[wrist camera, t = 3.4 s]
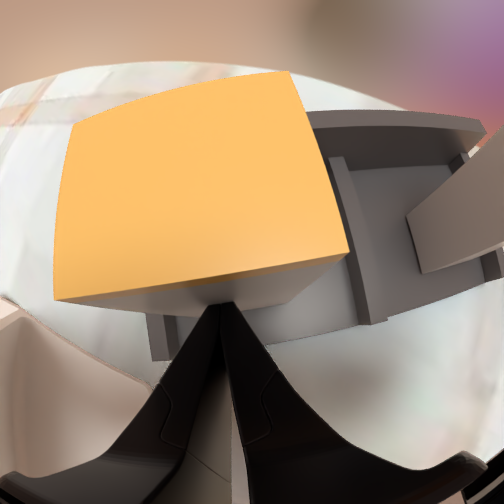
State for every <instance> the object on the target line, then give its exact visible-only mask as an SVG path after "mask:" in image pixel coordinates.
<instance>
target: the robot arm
mask: <svg viewBox="0 0 504 504" xmlns="http://www.w3.org/2000/svg"><path fill="white" fill-rule="evenodd" d="M232 401H233V406H234V411H235V416H236V420H237V425H238V430H239V434H240V439H241V443H242V447H243V452H244V456H245V462H246V468H247V477H248V488H249V499H250V504H504V448H503V449H502V450H501V451H500V452H499V453H497V454H496V455H495V456H494V457H492V458H491V459H490V460H489V461H487V462H486V463H484V462H483V461H482V460H481V459H479V458H477V457H475V456H474V455H472V454H470V453H468V452H466V451H461V452H459V453H457V454H455V455H454V456H452V457H450V458H449V459H447V460H445V461H443V462H442V463H440V464H438V465H436V466H434V467H432V468H429V469H424V470H412V469H408V468H404V467H402V466H399V465H397V464H395V463H392V462H390V461H387V460H385V459H383V458H380V457H378V456H376V455H374V454H372V453H369V452H367V451H365V450H363V449H361V448H359V447H357V446H355V445H353V444H351V443H350V442H348V441H347V440H345V439H344V438H343V437H342V436H340V435H339V434H338V433H337V432H336V431H335V430H334V429H332V428H331V427H330V426H329V425H328V424H327V423H326V422H325V421H324V420H323V419H322V418H321V417H320V416H319V415H318V414H317V413H316V412H315V411H314V410H313V409H312V408H311V407H310V406H309V405H308V404H307V403H306V402H305V401H304V400H303V399H302V398H301V397H300V395H299V394H298V393H297V392H296V391H295V390H294V388H293V387H292V386H291V384H290V383H289V382H288V381H287V379H286V378H285V376H284V375H283V374H282V372H281V371H280V370H279V368H278V367H277V365H276V364H275V362H274V361H273V359H272V358H271V356H270V355H269V353H268V352H267V350H266V349H265V347H264V346H263V344H262V343H261V341H260V340H259V338H258V337H257V335H256V334H255V332H254V331H253V329H252V328H251V326H250V325H249V323H248V322H247V320H246V319H245V317H244V316H243V314H242V313H241V311H240V310H239V308H238V306H237V305H236V303H235V302H234V301H232V302H225V303H222V304H212V305H208V306H207V307H206V309H205V310H204V312H203V313H202V315H201V316H200V318H199V320H198V321H197V323H196V324H195V326H194V327H193V329H192V331H191V332H190V334H189V335H188V337H187V338H186V340H185V341H184V343H183V345H182V346H181V348H180V349H179V351H178V352H177V354H176V356H175V357H174V359H173V360H172V362H171V363H170V365H169V367H168V368H167V370H166V371H165V373H164V375H163V376H162V378H161V379H160V381H159V383H158V384H157V385H156V387H155V389H154V390H153V392H152V393H151V395H150V396H149V398H148V399H147V401H146V402H145V404H144V405H143V406H142V408H141V409H140V410H139V412H138V413H137V414H136V416H135V417H134V418H133V419H132V421H131V422H130V423H129V424H128V426H127V427H126V428H125V429H124V431H123V432H122V433H121V434H120V435H119V437H118V438H117V439H116V440H115V442H114V443H113V444H112V445H111V446H110V447H109V448H108V449H107V450H106V451H105V452H104V453H103V454H101V455H100V456H98V457H97V458H95V459H93V460H90V461H88V462H85V463H82V464H80V465H77V466H74V467H72V468H69V469H66V470H63V471H60V472H57V473H54V474H51V475H48V476H44V477H38V478H32V477H27V476H25V475H23V474H21V473H19V472H17V471H11V472H9V473H7V474H5V475H3V476H1V477H0V504H232V497H231V408H232Z"/></svg>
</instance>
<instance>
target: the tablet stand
mask: <svg viewBox="0 0 504 504" xmlns="http://www.w3.org/2000/svg"><path fill="white" fill-rule="evenodd" d="M152 392H153V390H152V388H151V387H150V385H149V384H148V383H146V382H144V381H142V380H140V379H138V378H136V377H134V376H131V375H129V374H127V373H125V372H123V371H121V370H119V369H117V368H115V367H113V366H112V365H110V364H108V363H106V362H104V361H102V360H100V359H99V358H97V357H95V356H93V355H91V354H90V353H88V352H86V351H85V350H83V349H81V348H80V347H78V346H76V345H75V344H73V343H71V342H70V341H68V340H67V339H65V338H63V337H62V336H60V335H59V334H57V333H56V332H54V331H53V330H51V329H50V328H48V327H47V326H46V325H44V324H43V323H41V322H40V321H38V320H37V319H36V318H34V317H33V316H32V315H30V314H29V313H28V312H26V311H25V310H24V309H22V308H21V307H20V306H18V305H16V304H14V303H12V302H10V301H8V300H7V299H5V298H3V297H1V296H0V477H1V476H3V475H5V474H7V473H9V472H11V471H17V472H19V473H21V474H23V475H25V476H27V477H32V478H38V477H44V476H48V475H51V474H54V473H57V472H60V471H63V470H66V469H69V468H72V467H74V466H77V465H80V464H82V463H85V462H88V461H90V460H93V459H95V458H97V457H98V456H100V455H101V454H103V453H104V452H105V451H106V450H107V449H108V448H109V447H110V446H111V445H112V444H113V443H114V442H115V440H116V439H117V438H118V437H119V435H120V434H121V433H122V432H123V431H124V429H125V428H126V427H127V426H128V424H129V423H130V422H131V421H132V419H133V418H134V417H135V416H136V414H137V413H138V412H139V410H140V409H141V408H142V406H143V405H144V404H145V402H146V401H147V399H148V398H149V396H150V395H151V393H152Z"/></svg>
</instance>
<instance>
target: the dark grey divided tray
mask: <svg viewBox="0 0 504 504" xmlns="http://www.w3.org/2000/svg"><path fill="white" fill-rule="evenodd" d="M306 115H307V117H308V120H309V122H310V125H311V128H312V130H313V133H314V136H315V139H316V141H317V144H318V147H319V150H320V153H321V156H322V158H323V161H324V164H325V167H326V170H327V174H328V177H329V180H330V183H331V186H332V189H333V193H334V196H335V199H336V203H337V206H338V210H339V213H340V217H341V220H342V224H343V228H344V232H345V235H346V239H347V243H348V247H349V251H350V252H349V253H348V254H347V255H346V256H344V257H343V258H342V259H341V260H340V261H338V262H337V263H336V264H335V265H334V266H332V267H331V268H330V269H329V270H328V271H326V272H325V273H324V274H323V275H322V276H320V277H319V278H318V279H317V280H315V281H314V282H313V283H312V284H310V285H309V286H308V287H307V288H305V289H304V290H303V291H302V292H300V293H299V294H298V295H297V296H295V297H294V298H293V299H291V300H290V301H289V302H288V303H285V304H279V305H274V306H268V307H262V308H257V309H251V310H245V311H241V313H242V314H243V316H244V317H245V319H246V320H247V322H248V323H249V325H250V326H251V328H252V329H253V331H254V332H255V334H256V335H257V337H258V338H259V340H260V341H261V343H262V344H263V345H268V344H274V343H280V342H285V341H290V340H295V339H300V338H305V337H310V336H315V335H319V334H324V333H328V332H332V331H337V330H341V329H345V328H349V327H353V326H357V325H373V324H377V323H380V322H384V321H387V320H388V319H387V317H389V316H393V315H396V314H399V313H403V312H406V311H409V310H412V309H415V308H418V307H421V306H424V305H427V304H430V303H433V302H436V301H439V300H442V299H444V298H447V297H450V296H453V295H455V294H458V293H460V292H463V291H466V290H468V289H471V288H473V287H476V286H478V285H480V284H483V283H485V282H489V281H492V280H496V279H500V278H503V277H504V252H503V248H502V247H501V248H499V249H496V250H494V251H491V252H489V253H487V254H484V255H482V256H479V257H477V258H474V259H472V260H469V261H465V262H462V263H459V264H456V265H452V266H449V267H446V268H442V269H439V270H435V271H432V272H428V273H425V274H422V271H421V267H420V263H419V259H418V255H417V251H416V247H415V244H414V240H413V237H412V233H411V230H410V227H409V223H408V220H407V217H406V215H407V214H408V213H410V212H411V211H412V210H413V209H414V208H416V207H417V206H418V205H419V204H420V203H421V202H423V201H424V200H425V199H426V198H427V197H428V196H430V195H431V194H432V193H433V192H434V191H435V190H436V189H437V188H439V187H440V186H441V185H442V184H443V183H444V182H445V181H446V180H447V179H449V178H450V177H451V176H452V175H453V174H454V173H455V172H456V171H457V170H458V169H459V168H460V167H462V166H463V165H464V164H465V163H466V162H467V161H468V160H469V159H470V157H469V155H468V152H469V151H470V150H471V149H472V148H473V147H474V146H475V145H476V144H477V143H478V142H479V141H480V140H481V139H482V138H483V137H484V136H485V135H486V134H487V133H486V131H485V129H484V127H483V125H482V124H481V122H480V121H479V120H477V119H471V118H465V117H458V116H451V115H444V114H435V113H424V112H413V111H396V110H329V111H311V112H306ZM199 318H200V317H186V316H174V315H162V314H152V313H146V321H147V329H148V336H149V343H150V349H151V355H152V361H168V360H172V359H174V357H175V356H176V354H177V352H178V351H179V349H180V348H181V346H182V345H183V343H184V341H185V340H186V338H187V337H188V335H189V334H190V332H191V331H192V329H193V327H194V326H195V324H196V323H197V321H198V320H199Z"/></svg>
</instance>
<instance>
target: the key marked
mask: <svg viewBox="0 0 504 504" xmlns="http://www.w3.org/2000/svg"><path fill="white" fill-rule="evenodd" d="M349 252H350V251H349V247H348V243H347V239H346V235H345V232H344V228H343V224H342V220H341V217H340V213H339V210H338V206H337V203H336V199H335V196H334V193H333V189H332V186H331V183H330V180H329V177H328V174H327V170H326V167H325V164H324V161H323V158H322V156H321V153H320V150H319V147H318V144H317V141H316V139H315V136H314V133H313V130H312V128H311V125H310V122H309V120H308V117H307V115H306V112H305V109H304V107H303V104H302V102H301V100H300V97H299V95H298V92H297V90H296V88H295V85H294V83H293V81H292V78H291V76H290V74H289V72H288V71H280V72H269V73H259V74H251V75H243V76H236V77H230V78H224V79H218V80H213V81H208V82H203V83H198V84H193V85H189V86H185V87H180V88H176V89H172V90H169V91H165V92H161V93H158V94H154V95H151V96H148V97H144V98H141V99H138V100H135V101H132V102H129V103H126V104H123V105H120V106H117V107H115V108H112V109H109V110H107V111H104V112H102V113H99V114H97V115H94V116H92V117H89V118H87V119H85V120H82V121H80V122H78V123H76V124H73V127H72V131H71V135H70V139H69V143H68V147H67V152H66V156H65V161H64V166H63V172H62V177H61V183H60V190H59V197H58V204H57V213H56V223H55V236H54V256H53V291H54V300H56V301H62V302H68V303H74V304H80V305H87V306H94V307H101V308H108V309H116V310H124V311H133V312H142V313H152V314H162V315H174V316H186V317H200V316H201V315H202V313H203V312H204V310H205V309H206V307H207V306H208V305H212V304H222V303H225V302H232V301H234V302H235V303H236V305H237V306H238V308H239V310H240V311H245V310H251V309H257V308H262V307H268V306H274V305H279V304H285V303H288V302H289V301H290V300H291V299H293V298H294V297H295V296H297V295H298V294H299V293H300V292H302V291H303V290H304V289H305V288H307V287H308V286H309V285H310V284H312V283H313V282H314V281H315V280H317V279H318V278H319V277H320V276H322V275H323V274H324V273H325V272H326V271H328V270H329V269H330V268H331V267H332V266H334V265H335V264H336V263H337V262H338V261H340V260H341V259H342V258H343V257H344V256H346V255H347V254H348V253H349Z"/></svg>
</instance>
